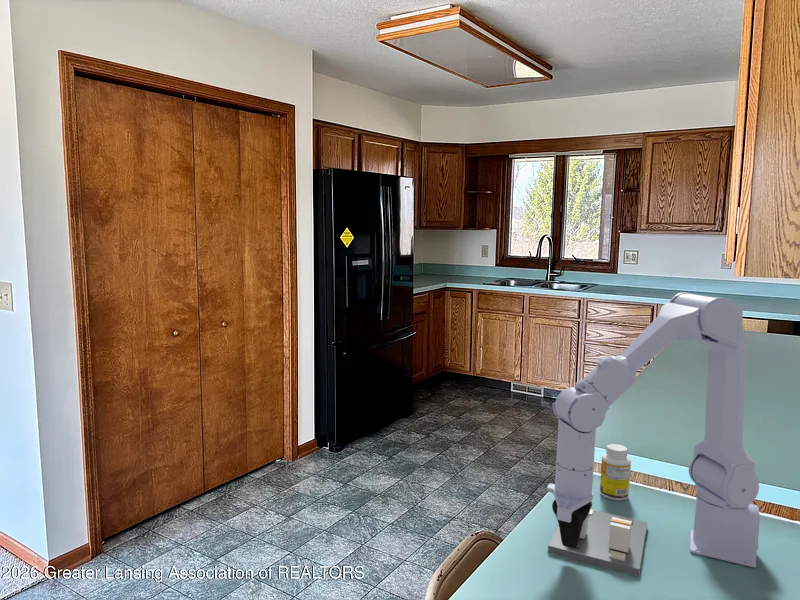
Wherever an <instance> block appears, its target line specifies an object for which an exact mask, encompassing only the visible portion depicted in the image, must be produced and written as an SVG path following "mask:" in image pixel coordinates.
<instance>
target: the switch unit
mask: <svg viewBox="0 0 800 600" xmlns="http://www.w3.org/2000/svg"><path fill="white" fill-rule="evenodd" d="M612 517H615V518H620V519H624V520H628V521H632V523H631V536H630V546H629V551H628V553H627V552H623V551H619V550H615V549H611V548H609V534H610V523H611V519H612ZM647 530H648V522H647V521H643V520H638V519H635V518H632V517H627V516H622V515H616V514H613V513H607V512H603V511H597V510H595V509H593V508H591V509H590V512H589V514H588V527H587V533H586V536H585V538H584V539H583V538H579V541H578V543H577V546H576V548H575V549H574V548H571V547H567V546H563V544H562V540H561V534H560V528H559V524H557V527H556V529H555V531H554V533H553V535H552V538H550V542H549V544H548V547H547V553H548V554H552V553H553V554H552V555H556V554H557V555H556V556H559V555H560V557H563V558H567V559H571V560H574V561H575V560H576V561H578V562H582V563H586V564H591V565H594V566H598V567H602V568H604V569H605V568H606V569H609V570H612V571H616V572H620V573H625V574H627V575H631V576H635V577H639V576H640V572H641V567H642V566H641V565H642V560H643V556H644V555H643V554H644V548H645V543H646V535H647Z"/></svg>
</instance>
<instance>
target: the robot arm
mask: <svg viewBox="0 0 800 600" xmlns="http://www.w3.org/2000/svg"><path fill="white" fill-rule="evenodd" d="M743 312H744V311H743V309H741V308H740V307H739V306H737V304H736V303H734V302H733V301H731V300H730V299H729V298H726V297H719V296H718V297H713V296H708V295H702V294H695V293H692V292H688V291H687V292H685V291H684V292H683V291H682V292H678V293H677V294H674V295H673V296H672V297H671V298H670V300H669V301H668V302H666V303H665V304H663V305H662V306H661V307H660V309H659V312H658V315H657V317H656V318H655V319H654V320H652V322H651V323H650V324H649V325H647V327H646V328H645V329H644V330H643V331H642V332H641V333H640V334H639V335H638V336H637V337H636V338H635V339H634V340H633V341H632V342H631V343H630V345H628V347H626V348H625V350H624V351H623V352H622V353H620V355H609V356H606V357H605V358H603V357H602V358H599V359H598V361H596V366H595V367H594V368H593V369H592V370H591V371H589V373H588V374H586V375H585V376H584V377H583V378H582V379H579V380H577V381H576V382H575V385H574V386H570V387H567V388H565V389H563V390H562V391H560V393H558V395H557V397H556V399H555V402H553V403H552V411H553V413H554V415H555V416H556V418H557V421H558V425H557V426H558V427H557V428H558V430H557V440H556V441H557V445H556V459H555V460H556V461H555V462H556V463H555V476H554V477H555V479H554V483H548V485H547V488H546V491H547V492H548V493H551V494H553V496H554V500H553V502H552V503H551V504H552V505H551V507H552V511H553V513H554V515H555V518H556V520H557V523H558V524H557V525H559V528H560V534H561V540H562V544H563V546H567V547H571V548H574V549H575V548H576V546H577V543H578V541H579V537H580V533H581V529H582V525H583V522H584V520H585V519H586V517H587V516H588V514H589V512H590V509H592V506H593V502H592V501H593V499H594V492H593V482H594V480H593V479H594V466H595V465H594V463H595V450H596V449H595V448H596V436H597V435H596V434H597V429H598V428H600V427H601V426H602V425H603V424H604V421H605V419H606V415H607V411H609V410H610V407H611V405H613V404H614V403H615V402H616V401H617V400H619V398H621V396H622V395H624V394H625V393H626V392H627V391H628V390H629V389H631V387H632V386H634V385H635V383H636V381H637V371H638V370H640V369H641V368H642V367H644V366H645V365H646V364H647V363H649V362H650V361H652V360H653V359H654V358H655V357H656V356H657V355H659V354H660V353H661V352H662V351H664V350H665V349H667V347H669V346H670V345H671V344H673V343H674V342H676V341H688V340H689V341H690V340H697V341H699V342H700V343H701V344H702V345H703V346H704V347H705V348H706V349H707V353H708V354H707V374H706V375H707V376H706V397H705V399H706V400H705V417H704V418H705V419H704V421H705V422H704V423H705V424H704V425H705V426H704V439H703V440H701V441H700V442H698V443H697V444H695V445H694V447H693V449H694V452H693V455H692V458H691V460H690V463H689V464H688V475H689V478H690V480H691V481H692V482H693V483H694V490H695V491H696V498H695V499H696V500H695V511H694V519H693V520H694V523H693V529H690V531H689V532H690V533H689V552H690V553H692V554H696V555H700V556H703V557H707V558H713V559H717V560H721V561H725V562H730V563H734V564H738V565H741V566H747V567H749V568H756V567H757V554H758V549H759V533H760V521H761V520H760V518H761V517H760V507H759V505H757V504H754V503H753V502H754V501H755V500H756V498H757V497H758V495H759V490H760V483H759V480H758V477H757V474H756V463H755V461H754V460H753V458H752V457H751V455H750V454H749V453H748V451H747V449H745V447H744V446H743V435H744V415H745V399H746V398H745V396H746V394H745V393H746V378H747V377H746V375H747V357H748V356H747V355H748V337H747V334H746V332H745V329H744V327H743Z"/></svg>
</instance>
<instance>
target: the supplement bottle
mask: <svg viewBox="0 0 800 600" xmlns="http://www.w3.org/2000/svg"><path fill="white" fill-rule="evenodd" d="M631 467H632V461H631V459H630V456H628V448H627V447H626V446H625V445H621V444H619V443H618V444H616V443H612V444H611V443H610V444H607V445H606V450H605V453H603V454H602V456H601V466H600V481H599V482H600V485H599V493H600V495H601V496H602V497H604V498H606V499H609V500H612V501H625V500H627V499H628V498H629V495H630V481H631V480H630V479H631V470H632V469H631Z"/></svg>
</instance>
